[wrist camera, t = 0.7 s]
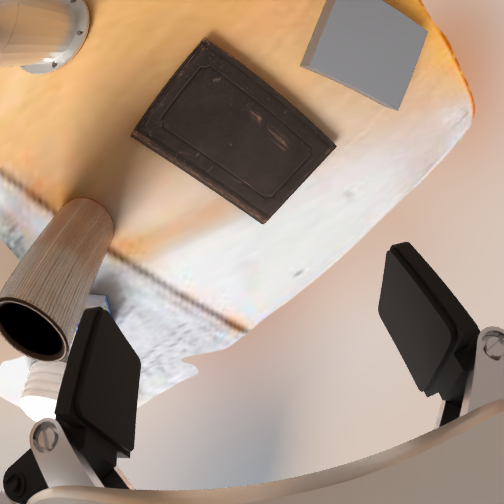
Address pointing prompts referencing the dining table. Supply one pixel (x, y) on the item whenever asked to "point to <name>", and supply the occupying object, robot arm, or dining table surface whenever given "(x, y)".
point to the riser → (366, 48)
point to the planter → (55, 281)
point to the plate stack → (42, 389)
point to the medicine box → (95, 303)
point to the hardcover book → (233, 132)
